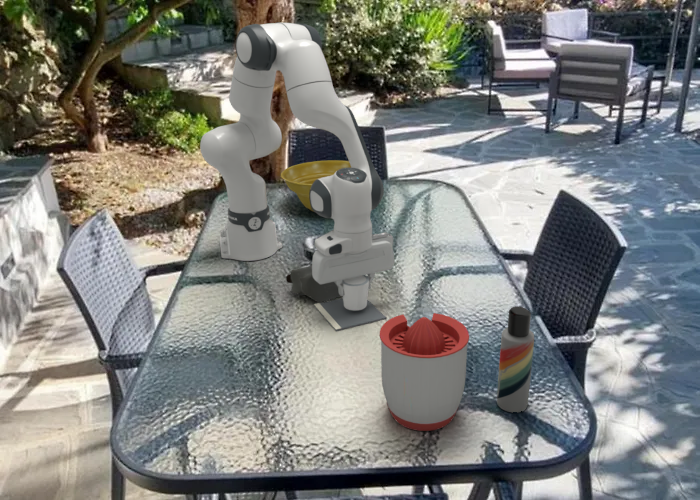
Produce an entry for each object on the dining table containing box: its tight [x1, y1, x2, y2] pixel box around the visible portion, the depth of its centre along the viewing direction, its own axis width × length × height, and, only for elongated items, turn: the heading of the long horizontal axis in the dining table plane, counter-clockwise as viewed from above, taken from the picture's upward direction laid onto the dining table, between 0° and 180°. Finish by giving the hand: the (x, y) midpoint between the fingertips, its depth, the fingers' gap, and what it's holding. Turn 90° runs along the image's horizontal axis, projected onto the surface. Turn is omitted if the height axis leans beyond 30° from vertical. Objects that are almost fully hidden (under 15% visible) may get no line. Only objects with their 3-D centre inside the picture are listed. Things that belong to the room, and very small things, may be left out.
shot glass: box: [341, 275, 369, 311], centre depth 153 cm, size 7×7×7 cm
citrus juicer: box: [379, 312, 470, 432], centre depth 115 cm, size 16×17×20 cm
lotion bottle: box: [496, 305, 535, 413], centre depth 116 cm, size 6×6×20 cm
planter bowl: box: [280, 159, 351, 212], centre depth 226 cm, size 32×32×13 cm
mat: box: [313, 297, 387, 332], centre depth 155 cm, size 14×13×1 cm
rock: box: [285, 265, 341, 303], centre depth 165 cm, size 18×11×8 cm, turn 123°
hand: (354, 291), depth 153 cm, fingers closed on shot glass, 5 cm apart
